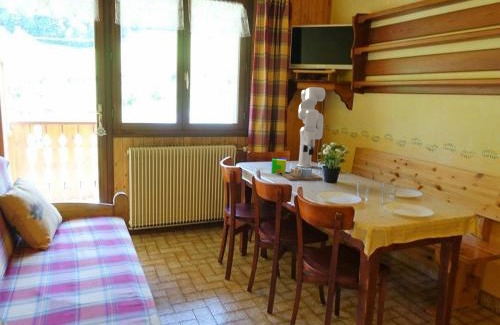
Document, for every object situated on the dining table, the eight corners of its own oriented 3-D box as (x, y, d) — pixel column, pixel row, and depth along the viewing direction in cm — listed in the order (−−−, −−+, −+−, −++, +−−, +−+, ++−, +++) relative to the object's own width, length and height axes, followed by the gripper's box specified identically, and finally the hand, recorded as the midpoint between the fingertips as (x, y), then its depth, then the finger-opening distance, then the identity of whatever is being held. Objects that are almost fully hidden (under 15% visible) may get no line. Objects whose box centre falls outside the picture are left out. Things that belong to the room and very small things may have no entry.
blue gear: (299, 174, 275) (300, 167, 274) (308, 174, 276) (309, 167, 275) (303, 177, 268) (304, 169, 267) (312, 176, 270) (313, 169, 269)
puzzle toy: (285, 171, 290) (286, 158, 288) (285, 174, 280) (286, 160, 278) (271, 170, 291) (272, 157, 289) (271, 173, 281) (272, 159, 279)
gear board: (282, 175, 275) (283, 165, 274) (313, 175, 282) (314, 165, 280) (289, 180, 262) (290, 169, 260) (322, 180, 268) (323, 169, 267)
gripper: (300, 126, 273) (298, 150, 277) (310, 130, 257) (308, 156, 261) (310, 126, 275) (308, 150, 279) (320, 130, 259) (318, 156, 263)
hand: (308, 153), depth 270 cm, fingers open, 9 cm apart
